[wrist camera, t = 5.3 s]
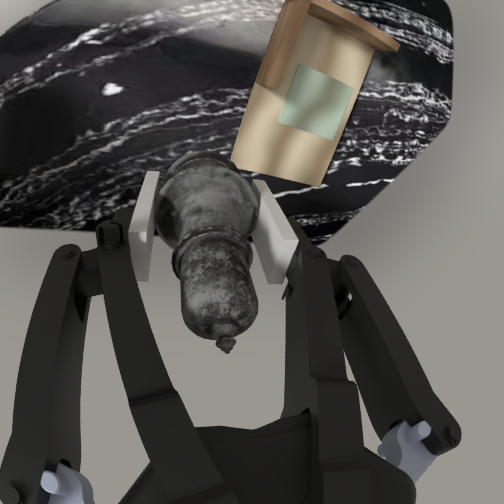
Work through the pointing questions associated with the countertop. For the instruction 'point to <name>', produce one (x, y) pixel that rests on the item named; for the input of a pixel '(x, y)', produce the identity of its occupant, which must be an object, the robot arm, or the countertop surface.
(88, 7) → the countertop surface
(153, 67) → the countertop surface
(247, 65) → the countertop surface
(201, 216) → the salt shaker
